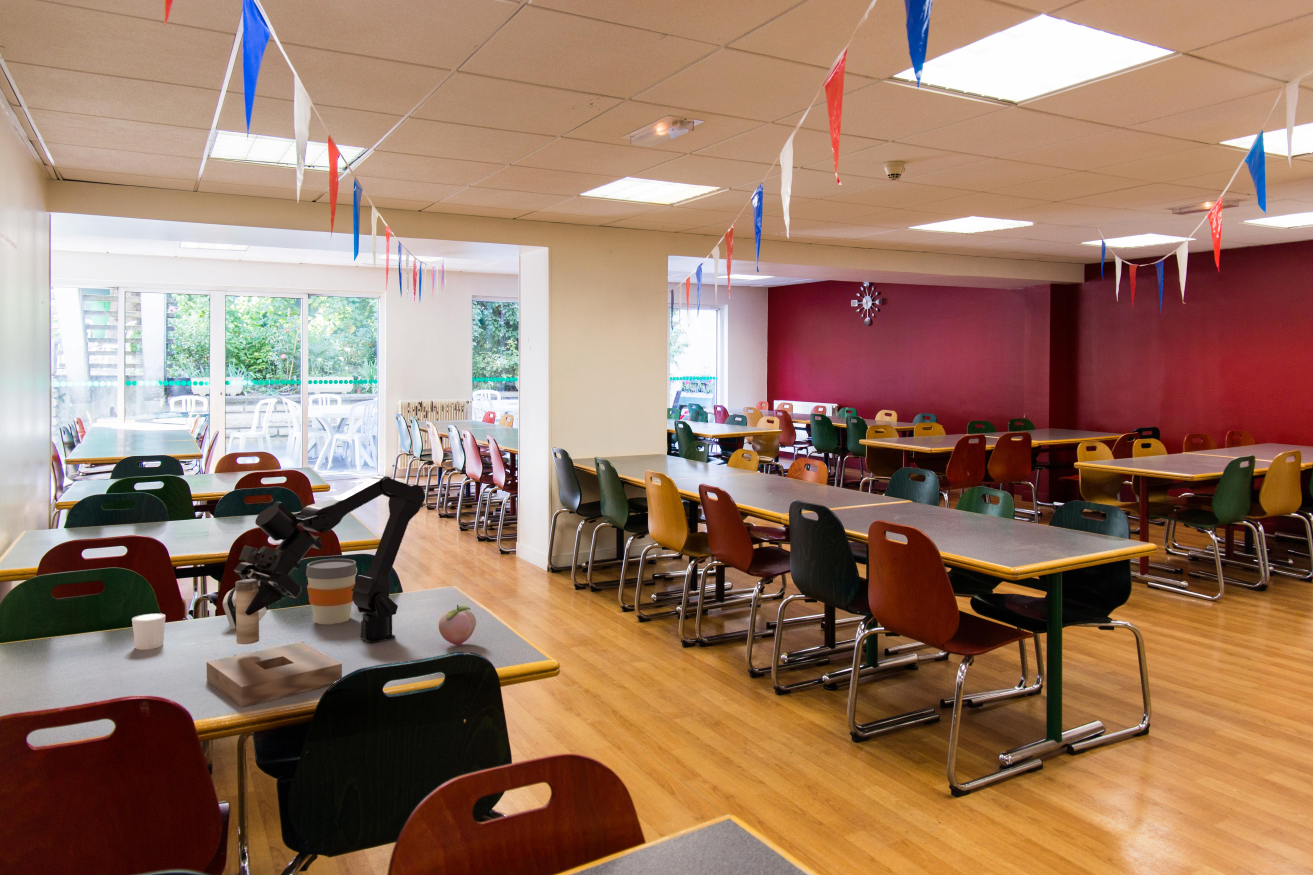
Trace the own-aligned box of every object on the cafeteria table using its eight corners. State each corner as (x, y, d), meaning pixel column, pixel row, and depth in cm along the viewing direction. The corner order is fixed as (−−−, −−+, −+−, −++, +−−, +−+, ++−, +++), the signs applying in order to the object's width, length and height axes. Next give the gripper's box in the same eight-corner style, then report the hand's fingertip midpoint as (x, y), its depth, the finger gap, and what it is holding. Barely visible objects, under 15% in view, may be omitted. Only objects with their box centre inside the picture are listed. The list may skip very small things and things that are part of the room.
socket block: (302, 659, 193) (302, 642, 193) (342, 682, 179) (341, 663, 179) (206, 680, 179) (206, 661, 179) (242, 706, 165) (241, 686, 165)
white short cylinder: (170, 645, 201) (169, 616, 201) (137, 652, 196) (136, 622, 196) (160, 639, 206) (160, 611, 205) (128, 645, 201) (127, 616, 200)
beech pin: (247, 637, 186) (246, 578, 185) (263, 639, 185) (262, 580, 184) (231, 642, 182) (230, 582, 181) (248, 645, 181) (246, 584, 180)
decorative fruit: (449, 638, 210) (449, 598, 210) (480, 641, 209) (480, 600, 208) (431, 650, 201) (431, 608, 200) (464, 652, 199) (464, 610, 199)
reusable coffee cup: (322, 611, 232) (321, 557, 231) (365, 614, 231) (365, 559, 230) (296, 624, 220) (296, 567, 219) (342, 627, 218) (342, 569, 217)
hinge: (252, 628, 216) (237, 592, 215) (233, 635, 215) (218, 599, 214) (267, 610, 233) (253, 577, 231) (250, 617, 232) (236, 583, 230)
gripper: (242, 526, 191) (192, 584, 183) (287, 536, 179) (236, 598, 171) (276, 555, 197) (229, 612, 189) (322, 567, 186) (274, 628, 178)
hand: (241, 612), depth 182 cm, fingers closed on beech pin, 4 cm apart
